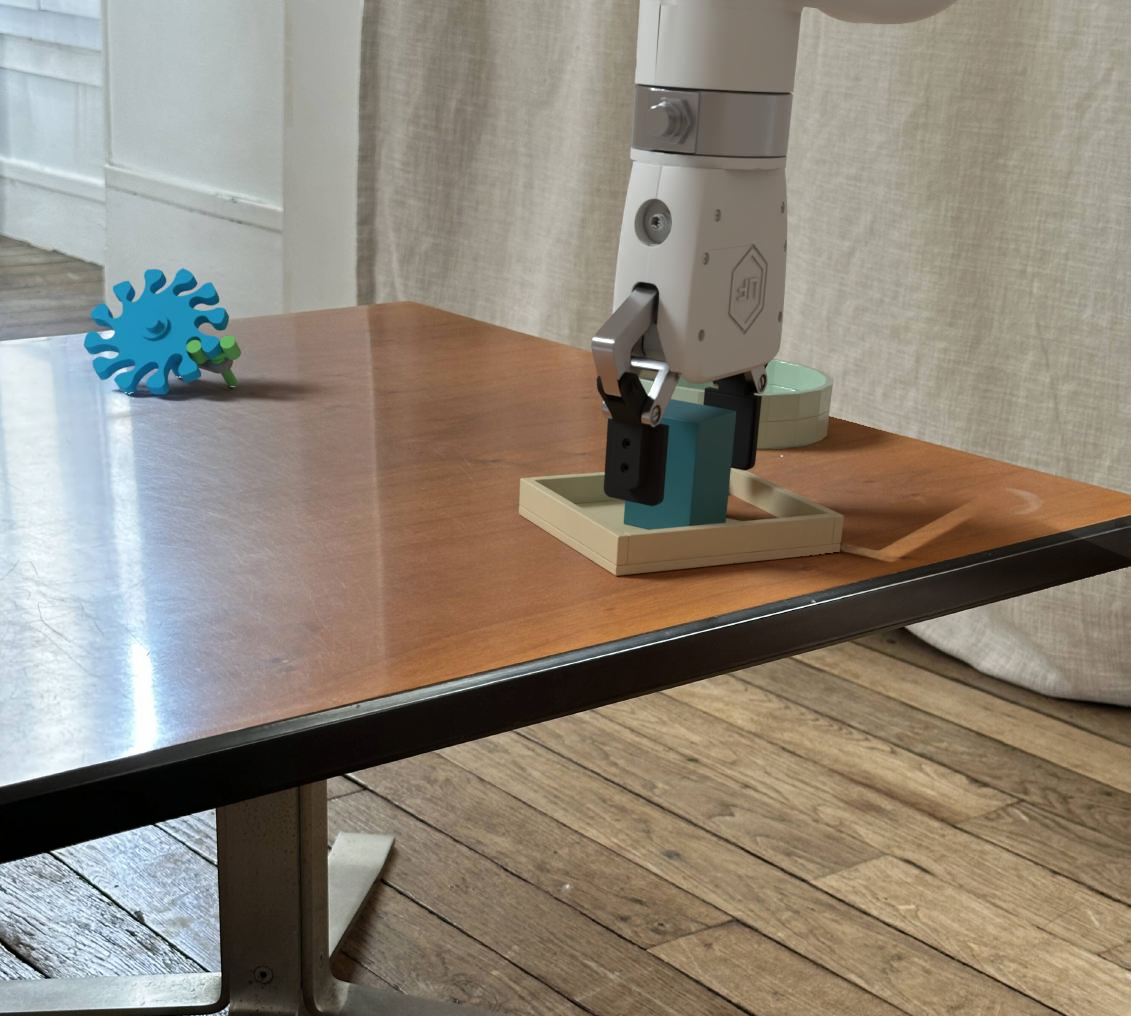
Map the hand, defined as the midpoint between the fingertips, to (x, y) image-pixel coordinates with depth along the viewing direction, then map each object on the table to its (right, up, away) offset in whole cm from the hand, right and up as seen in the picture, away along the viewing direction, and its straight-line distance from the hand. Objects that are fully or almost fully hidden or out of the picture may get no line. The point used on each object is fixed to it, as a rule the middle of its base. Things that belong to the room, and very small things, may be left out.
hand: (681, 482), depth 84 cm
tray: (0, -3, +1) cm, 3 cm away
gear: (-34, +11, +27) cm, 45 cm away
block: (0, -2, +1) cm, 2 cm away
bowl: (+4, +7, +24) cm, 25 cm away
